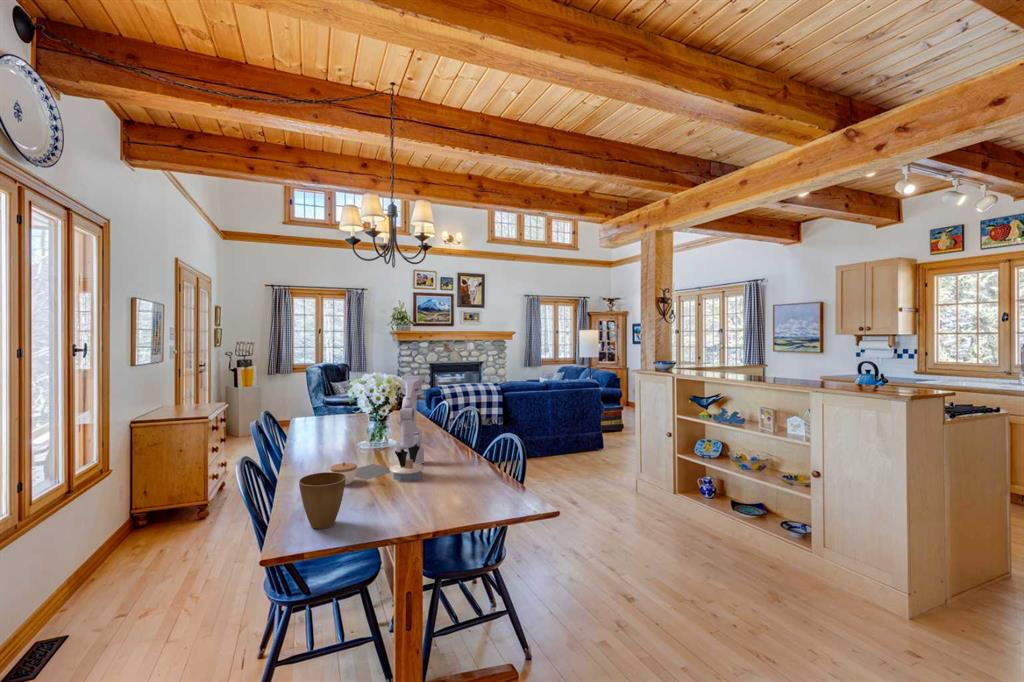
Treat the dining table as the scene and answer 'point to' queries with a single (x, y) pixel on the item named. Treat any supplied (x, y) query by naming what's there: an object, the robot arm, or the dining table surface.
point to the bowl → (408, 476)
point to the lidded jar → (346, 471)
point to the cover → (407, 468)
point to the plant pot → (322, 497)
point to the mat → (371, 471)
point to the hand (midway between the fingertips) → (407, 464)
